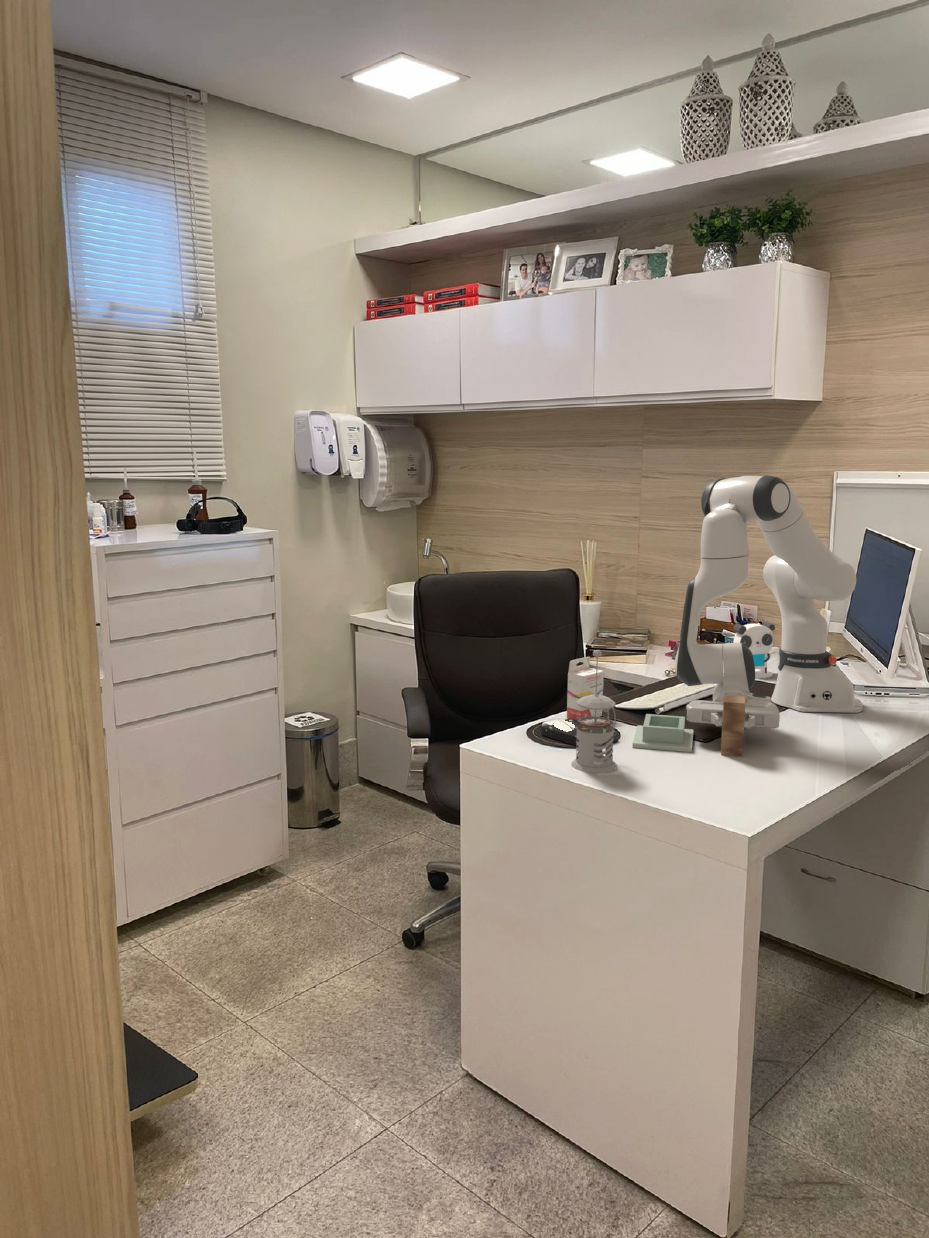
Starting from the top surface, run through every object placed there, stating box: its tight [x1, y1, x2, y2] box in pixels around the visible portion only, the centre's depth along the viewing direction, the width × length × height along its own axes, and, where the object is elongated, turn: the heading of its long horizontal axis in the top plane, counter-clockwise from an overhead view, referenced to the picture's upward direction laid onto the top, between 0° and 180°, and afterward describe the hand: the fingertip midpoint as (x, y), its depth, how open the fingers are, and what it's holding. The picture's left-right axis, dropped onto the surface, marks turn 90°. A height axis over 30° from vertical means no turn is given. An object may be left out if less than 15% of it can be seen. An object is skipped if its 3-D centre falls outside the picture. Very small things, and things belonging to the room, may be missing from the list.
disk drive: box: [541, 718, 618, 747], centre depth 218 cm, size 10×3×15 cm
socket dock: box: [631, 713, 694, 753], centre depth 216 cm, size 13×14×4 cm
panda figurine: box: [732, 621, 776, 679], centre depth 278 cm, size 12×11×15 cm
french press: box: [570, 649, 618, 774], centre depth 198 cm, size 10×12×25 cm
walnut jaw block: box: [720, 695, 745, 757], centre depth 208 cm, size 4×6×12 cm
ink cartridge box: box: [566, 656, 605, 721], centre depth 233 cm, size 9×5×15 cm, turn 135°
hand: (733, 724), depth 207 cm, fingers closed on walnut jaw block, 4 cm apart
